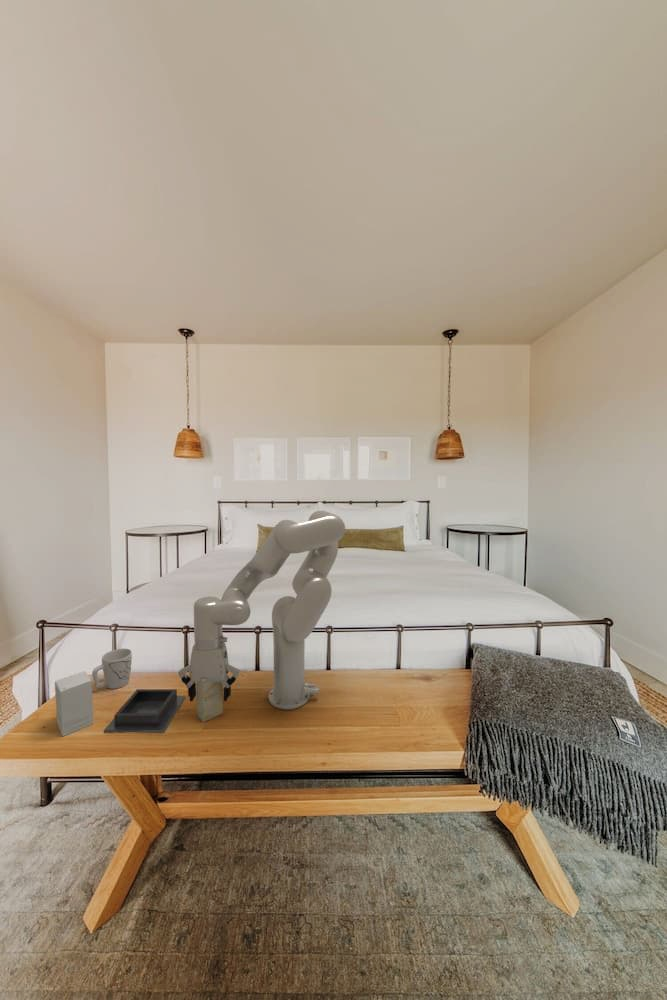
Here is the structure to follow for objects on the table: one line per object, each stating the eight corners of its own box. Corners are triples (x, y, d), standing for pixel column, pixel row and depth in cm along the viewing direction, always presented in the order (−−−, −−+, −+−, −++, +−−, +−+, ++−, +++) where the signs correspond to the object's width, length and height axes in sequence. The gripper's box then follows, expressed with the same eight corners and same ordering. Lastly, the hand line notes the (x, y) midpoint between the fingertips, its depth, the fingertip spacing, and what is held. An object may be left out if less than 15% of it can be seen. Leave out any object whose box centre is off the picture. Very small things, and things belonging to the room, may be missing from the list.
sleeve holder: (185, 698, 114) (185, 686, 114) (163, 732, 99) (163, 719, 99) (133, 698, 114) (133, 686, 114) (104, 732, 99) (103, 719, 99)
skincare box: (202, 723, 103) (201, 681, 102) (196, 715, 106) (195, 674, 105) (223, 713, 107) (223, 673, 106) (217, 706, 111) (216, 667, 109)
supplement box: (94, 724, 102) (92, 680, 101) (61, 737, 97) (59, 692, 96) (87, 711, 108) (85, 670, 106) (56, 723, 102) (54, 680, 101)
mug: (99, 699, 113) (97, 668, 112) (88, 689, 118) (86, 659, 117) (137, 682, 122) (136, 653, 121) (125, 673, 127) (124, 645, 127)
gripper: (242, 635, 109) (242, 690, 110) (183, 635, 109) (184, 690, 110) (235, 647, 101) (236, 706, 103) (172, 647, 101) (174, 706, 103)
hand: (209, 698), depth 106 cm, fingers open, 9 cm apart
